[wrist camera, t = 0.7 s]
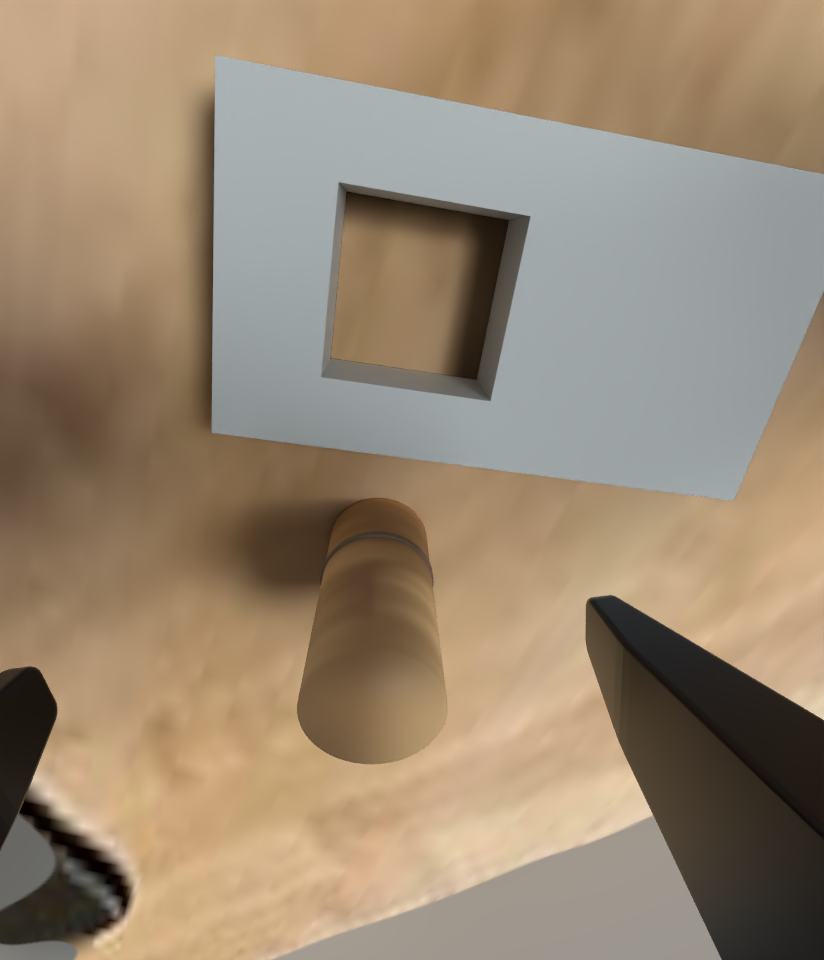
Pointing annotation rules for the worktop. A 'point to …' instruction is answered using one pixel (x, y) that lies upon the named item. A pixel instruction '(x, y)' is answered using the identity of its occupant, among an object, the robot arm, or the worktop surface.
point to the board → (511, 286)
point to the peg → (374, 640)
